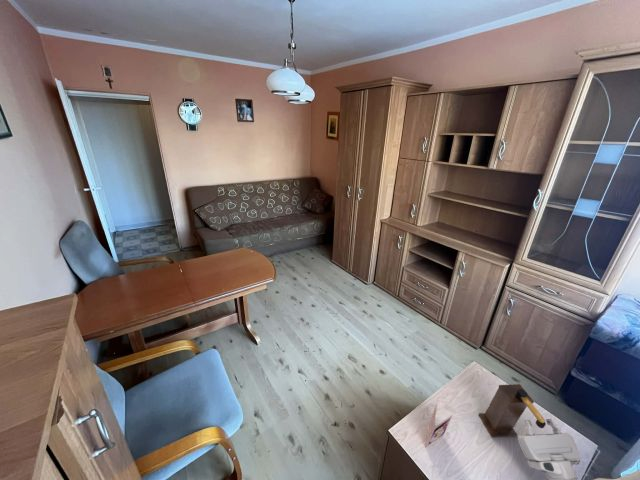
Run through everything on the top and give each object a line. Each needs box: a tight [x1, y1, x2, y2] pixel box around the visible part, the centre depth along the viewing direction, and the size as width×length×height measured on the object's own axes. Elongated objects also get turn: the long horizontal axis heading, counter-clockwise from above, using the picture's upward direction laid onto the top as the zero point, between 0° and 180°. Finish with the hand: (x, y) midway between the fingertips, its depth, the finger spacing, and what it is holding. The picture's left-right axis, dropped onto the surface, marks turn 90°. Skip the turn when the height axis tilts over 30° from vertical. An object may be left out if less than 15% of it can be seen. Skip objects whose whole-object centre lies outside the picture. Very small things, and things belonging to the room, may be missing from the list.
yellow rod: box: [516, 388, 547, 429], centre depth 106 cm, size 13×3×4 cm, turn 4°
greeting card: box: [424, 403, 453, 448], centre depth 115 cm, size 11×7×15 cm, turn 117°
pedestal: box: [478, 383, 535, 439], centre depth 119 cm, size 10×12×24 cm
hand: (537, 419), depth 103 cm, fingers open, 8 cm apart
